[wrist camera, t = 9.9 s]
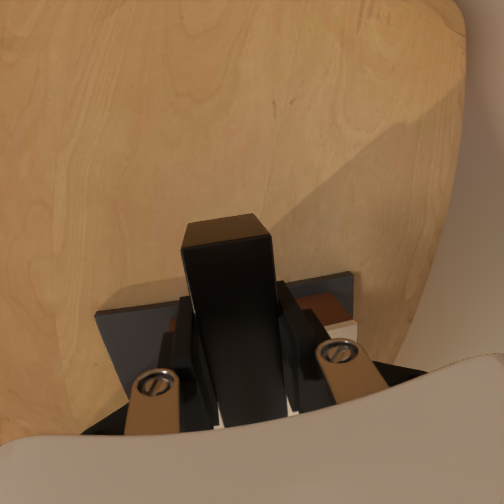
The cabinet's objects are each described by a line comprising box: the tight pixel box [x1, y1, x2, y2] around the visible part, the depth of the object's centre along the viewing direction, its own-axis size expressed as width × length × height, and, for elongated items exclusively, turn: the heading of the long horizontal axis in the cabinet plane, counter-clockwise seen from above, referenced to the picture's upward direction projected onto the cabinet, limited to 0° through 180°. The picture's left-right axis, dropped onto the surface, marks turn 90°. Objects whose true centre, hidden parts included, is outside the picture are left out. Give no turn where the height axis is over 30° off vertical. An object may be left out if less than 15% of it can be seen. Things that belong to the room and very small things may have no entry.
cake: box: [94, 271, 358, 417], centre depth 22 cm, size 15×20×6 cm
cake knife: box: [180, 213, 288, 428], centre depth 12 cm, size 18×2×4 cm, turn 7°
